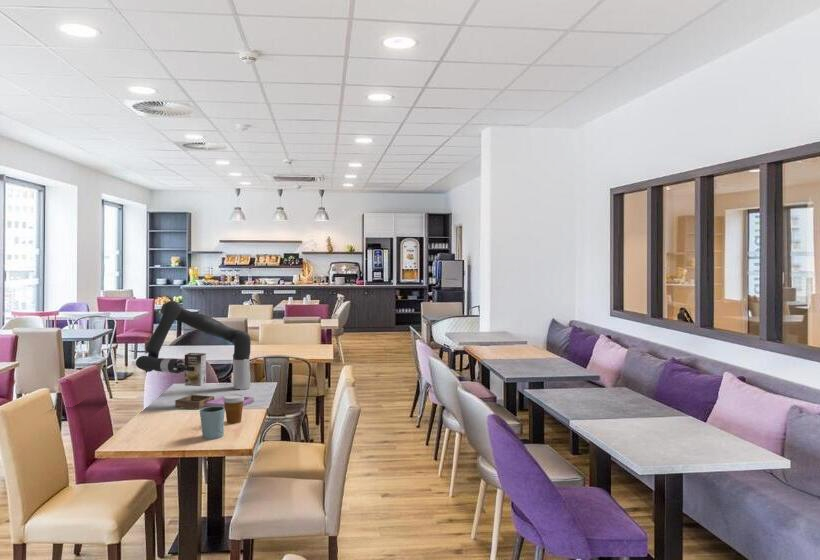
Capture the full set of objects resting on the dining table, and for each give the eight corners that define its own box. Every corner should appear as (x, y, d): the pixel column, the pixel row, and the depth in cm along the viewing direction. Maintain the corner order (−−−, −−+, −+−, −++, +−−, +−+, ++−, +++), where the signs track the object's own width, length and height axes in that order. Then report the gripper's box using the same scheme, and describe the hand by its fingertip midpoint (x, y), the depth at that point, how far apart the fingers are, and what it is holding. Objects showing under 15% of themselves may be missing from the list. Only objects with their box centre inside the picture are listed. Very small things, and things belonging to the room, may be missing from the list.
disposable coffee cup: (218, 423, 274) (218, 397, 274) (233, 418, 283) (233, 393, 282) (234, 425, 270) (233, 399, 269) (249, 420, 278) (248, 395, 278)
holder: (191, 401, 316) (191, 394, 315) (214, 403, 311) (214, 396, 311) (175, 407, 303) (175, 400, 303) (198, 409, 299) (198, 402, 299)
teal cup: (229, 436, 255) (229, 408, 254) (207, 441, 247) (207, 413, 247) (217, 431, 261) (216, 404, 261) (195, 436, 254) (195, 409, 253)
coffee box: (183, 385, 304) (183, 354, 303) (189, 383, 311) (189, 352, 310) (201, 386, 303) (200, 355, 302) (206, 383, 310) (206, 353, 309)
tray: (225, 399, 319) (225, 395, 319) (253, 402, 314) (253, 397, 314) (206, 407, 302) (206, 402, 302) (235, 410, 297) (235, 405, 297)
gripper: (162, 360, 304) (189, 362, 299) (181, 356, 317) (207, 358, 313) (162, 375, 304) (189, 377, 299) (181, 370, 318) (207, 372, 313)
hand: (198, 367), depth 306 cm, fingers closed on coffee box, 7 cm apart
